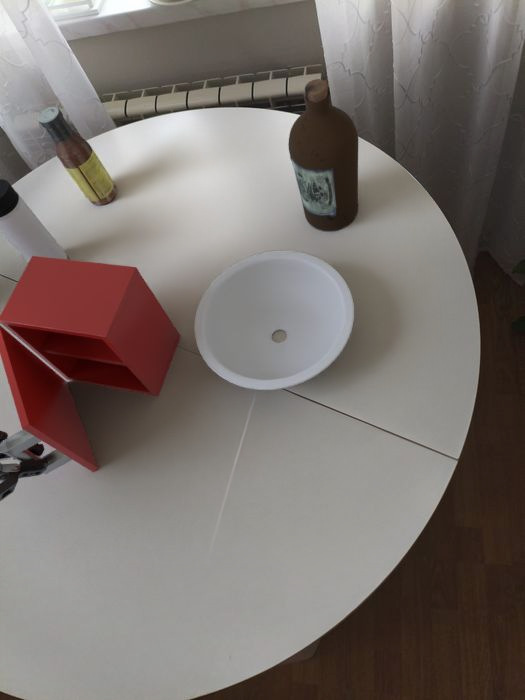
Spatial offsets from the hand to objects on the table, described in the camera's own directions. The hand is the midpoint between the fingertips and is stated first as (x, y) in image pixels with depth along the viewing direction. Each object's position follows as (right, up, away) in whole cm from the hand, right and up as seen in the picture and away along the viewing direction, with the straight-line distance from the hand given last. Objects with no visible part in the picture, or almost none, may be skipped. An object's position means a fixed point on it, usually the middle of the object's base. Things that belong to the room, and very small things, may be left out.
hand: (44, 457), depth 77 cm
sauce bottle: (-2, +46, +34) cm, 57 cm away
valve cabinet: (+8, +14, +14) cm, 21 cm away
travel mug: (-9, +31, +27) cm, 42 cm away
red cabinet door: (-1, +2, +10) cm, 10 cm away
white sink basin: (+33, +17, +11) cm, 39 cm away
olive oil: (+42, +39, +21) cm, 61 cm away
